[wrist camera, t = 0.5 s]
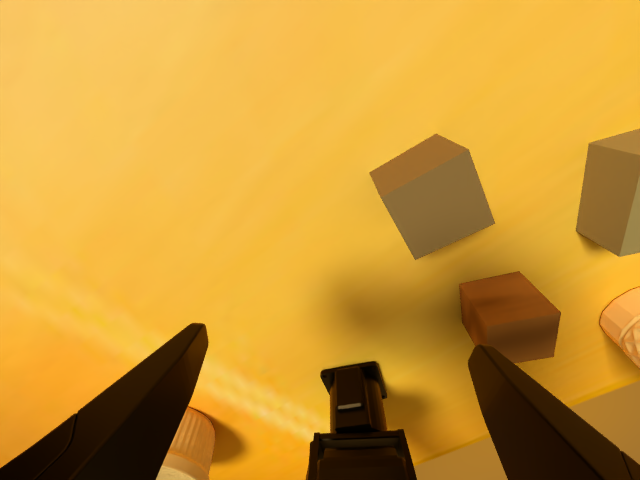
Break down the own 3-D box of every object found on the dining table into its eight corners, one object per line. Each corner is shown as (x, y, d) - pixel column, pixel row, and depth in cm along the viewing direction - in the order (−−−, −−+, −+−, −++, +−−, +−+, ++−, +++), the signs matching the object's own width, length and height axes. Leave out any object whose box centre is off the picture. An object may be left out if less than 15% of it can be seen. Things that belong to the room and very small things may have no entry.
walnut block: (516, 311, 26) (553, 356, 22) (461, 321, 27) (487, 367, 23) (518, 270, 24) (560, 312, 20) (458, 283, 25) (486, 326, 20)
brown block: (459, 193, 21) (494, 223, 16) (398, 224, 22) (415, 259, 18) (435, 133, 19) (468, 149, 14) (369, 172, 20) (380, 197, 16)
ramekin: (240, 418, 37) (223, 484, 31) (202, 455, 43) (182, 516, 37) (142, 383, 34) (101, 449, 28) (115, 428, 39) (76, 491, 33)
